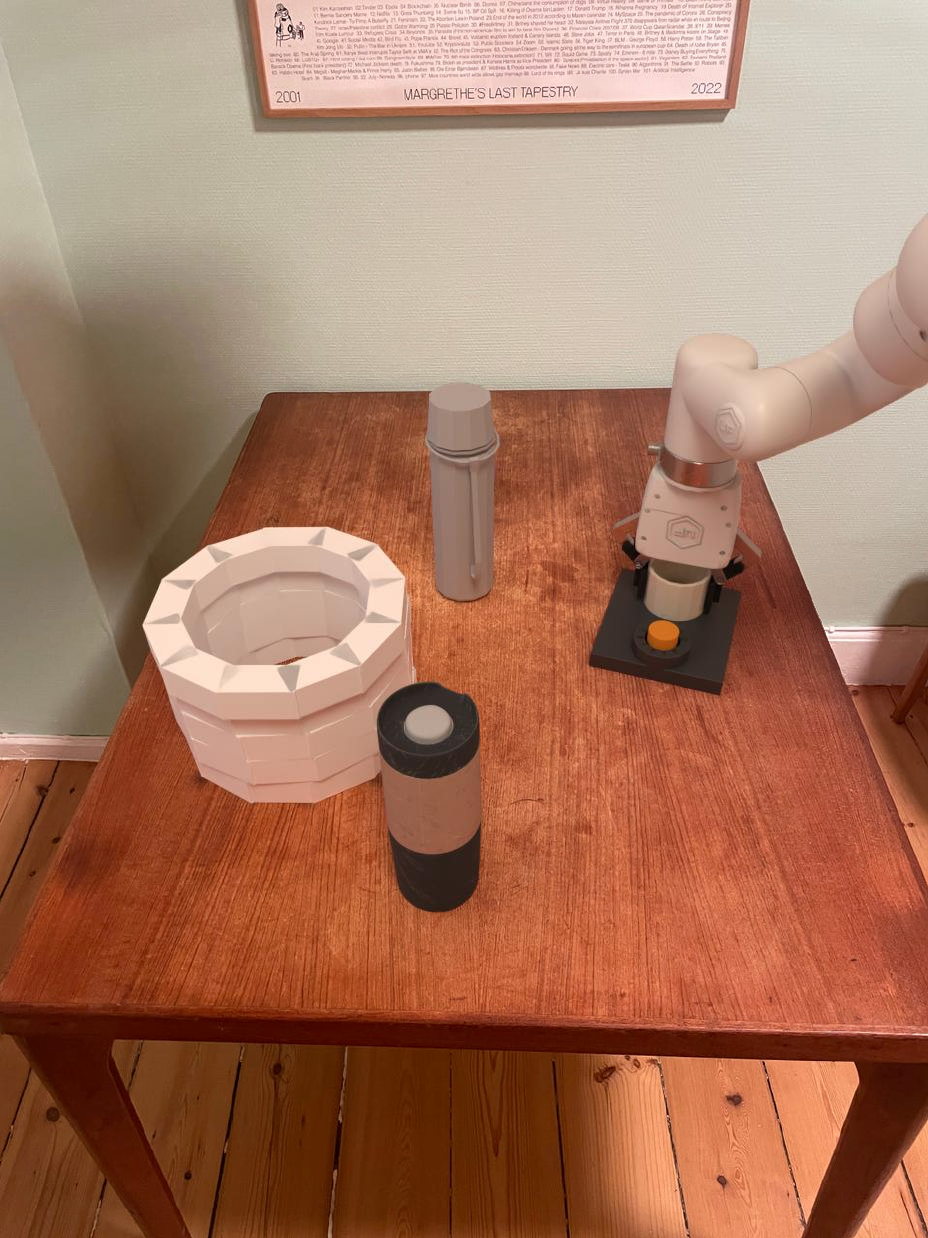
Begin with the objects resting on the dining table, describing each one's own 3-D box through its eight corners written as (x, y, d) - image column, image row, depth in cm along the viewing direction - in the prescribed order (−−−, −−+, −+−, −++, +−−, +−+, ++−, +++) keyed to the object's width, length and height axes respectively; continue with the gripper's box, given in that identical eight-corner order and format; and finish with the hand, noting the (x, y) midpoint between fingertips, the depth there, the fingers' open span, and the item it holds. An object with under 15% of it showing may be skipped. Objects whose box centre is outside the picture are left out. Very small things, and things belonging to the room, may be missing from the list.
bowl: (709, 590, 104) (716, 555, 100) (700, 627, 99) (707, 591, 95) (649, 578, 105) (655, 544, 102) (638, 614, 101) (643, 579, 97)
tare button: (679, 634, 96) (681, 623, 95) (674, 653, 94) (676, 642, 93) (650, 628, 97) (651, 617, 96) (644, 647, 95) (645, 636, 94)
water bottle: (425, 575, 110) (414, 386, 94) (485, 562, 112) (485, 375, 95) (446, 621, 103) (438, 426, 87) (510, 607, 105) (514, 414, 89)
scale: (738, 603, 105) (744, 580, 102) (719, 696, 93) (725, 671, 91) (620, 580, 108) (623, 556, 106) (588, 666, 97) (591, 642, 95)
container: (413, 813, 82) (402, 689, 72) (159, 819, 82) (111, 696, 72) (419, 634, 101) (411, 515, 91) (212, 638, 101) (181, 521, 91)
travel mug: (404, 926, 74) (386, 767, 61) (385, 850, 79) (365, 691, 66) (493, 903, 75) (493, 743, 62) (468, 830, 81) (464, 671, 68)
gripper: (606, 464, 90) (592, 601, 101) (785, 494, 85) (749, 634, 97) (622, 430, 95) (607, 564, 107) (791, 456, 90) (756, 593, 102)
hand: (675, 596), depth 102 cm, fingers closed on bowl, 7 cm apart
